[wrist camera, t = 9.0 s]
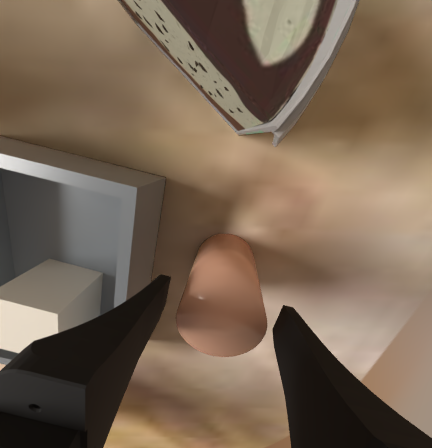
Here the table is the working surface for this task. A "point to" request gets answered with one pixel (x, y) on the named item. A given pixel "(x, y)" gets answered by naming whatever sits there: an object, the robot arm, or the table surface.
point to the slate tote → (77, 218)
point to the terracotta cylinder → (222, 299)
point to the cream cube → (47, 302)
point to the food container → (249, 53)
